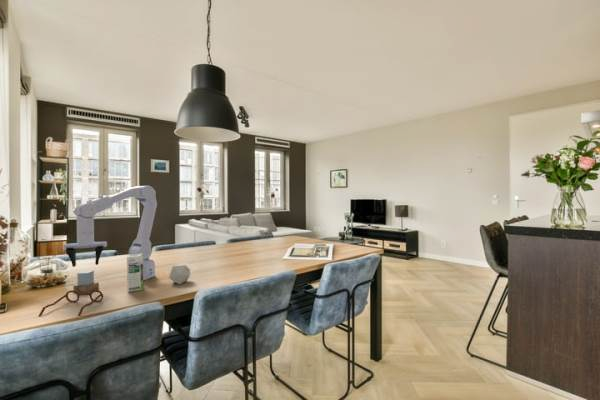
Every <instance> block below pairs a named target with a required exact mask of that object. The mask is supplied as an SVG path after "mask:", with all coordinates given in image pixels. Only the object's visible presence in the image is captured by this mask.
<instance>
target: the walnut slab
mask: <svg viewBox="0 0 600 400" xmlns="http://www.w3.org/2000/svg"><path fill="white" fill-rule="evenodd" d="M99 283H100V282H98V281H94V283H92V284H90V285H83V286H78V283H77V284H73V291H76V292H78V293H79V294H80V293H90V292H92V291H93V290H99V289H100V288H99V287H100V284H99Z"/></svg>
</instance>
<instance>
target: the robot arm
mask: <svg viewBox="0 0 600 400" xmlns="http://www.w3.org/2000/svg"><path fill="white" fill-rule="evenodd" d="M156 193H157V191H156V190H155V188H153V186H150V185H136V186H132V187H129V188H126V189H123V190H122V191H119V192H117V193H115V194H112V195H110V196H108V195H105V194H104V195H103V194H101V195H99V196H98V197H97V198H95V199H92V200H90V199H89V200H86V202H85V203H80V204H78V205H76V207H75V208H74V210H73V213H74V215H75V216H76V242H73V243H64V244H62V250H65V253H66V255H67V256H68V257H69V259H70V262H71V265H72V267H74V268H75V267H76V266H77V260H76V257H77V255H76V254H77V249H87V248H95V249H94V250H95V265H97V266H98V265H99V262H100V257H101V255H102V253H103V251H104V249H105V248H106V247H108V242H107V241H95V216H96V215H97V214H98V213H101V212H103V211H106V210H108V209H110V208H112V207H113V205H114V204H115V203H118V202H121V201H122V200H125V199H129V198H135V199H136V200H138V201H139V202H140V203H141V204H142V206H143V210H142V214H141V219H140V223H139V227H138V230H137V231H138V232H137V235H136V238H135V239H134V240H133V241H132V244H131V246H130V247H129V249H128V255H134V254H142V255H143V281H147V280H148V279H152V278H154V277H156V276H157V275H156V273H155V272H156V265H155V260H153V259H151V258H150V257H151V255H152V253H153V251H152V242H151V240H150V237H151V234H152V229H153V224H154V221H155V220H154V219H155V216H156V210H157V208H158V202H157V197H156V196H157V195H156Z"/></svg>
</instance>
